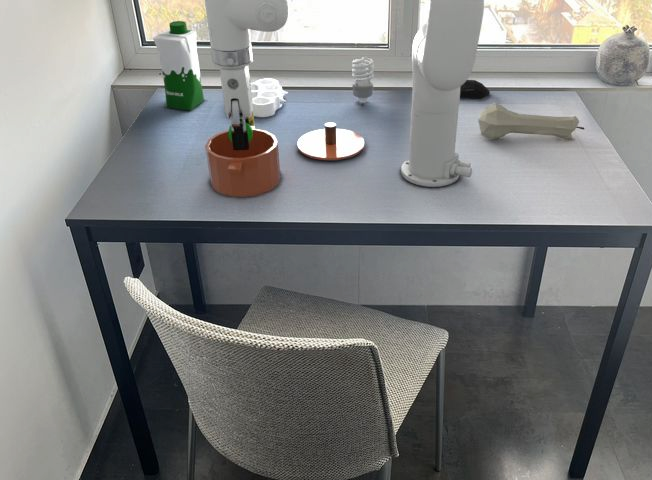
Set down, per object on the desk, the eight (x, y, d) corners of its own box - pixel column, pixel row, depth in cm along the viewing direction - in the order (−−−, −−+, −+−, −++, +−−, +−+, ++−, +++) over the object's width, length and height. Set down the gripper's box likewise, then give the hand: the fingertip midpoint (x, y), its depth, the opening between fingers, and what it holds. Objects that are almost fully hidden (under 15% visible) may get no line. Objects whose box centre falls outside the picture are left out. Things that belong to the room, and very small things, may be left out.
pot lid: (364, 133, 163) (364, 110, 160) (364, 162, 151) (364, 139, 147) (300, 132, 163) (298, 110, 160) (294, 162, 151) (293, 139, 147)
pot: (284, 158, 152) (282, 123, 147) (273, 204, 136) (270, 166, 131) (220, 158, 152) (216, 122, 147) (202, 203, 136) (196, 165, 131)
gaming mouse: (434, 88, 186) (435, 74, 183) (489, 91, 184) (490, 77, 182) (432, 97, 181) (433, 82, 178) (489, 100, 179) (491, 86, 177)
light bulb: (360, 109, 174) (360, 63, 167) (347, 102, 178) (347, 56, 171) (377, 104, 177) (378, 58, 170) (365, 97, 181) (365, 52, 174)
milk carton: (209, 99, 179) (198, 22, 168) (191, 113, 173) (179, 33, 161) (179, 95, 182) (167, 19, 170) (161, 108, 175) (147, 29, 163)
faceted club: (472, 124, 164) (575, 129, 165) (476, 149, 159) (582, 153, 160) (479, 95, 157) (586, 99, 158) (483, 119, 152) (594, 124, 153)
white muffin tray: (235, 90, 185) (290, 90, 185) (226, 117, 170) (285, 117, 170) (234, 78, 183) (289, 78, 183) (225, 105, 168) (284, 104, 168)
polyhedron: (232, 151, 137) (230, 129, 134) (227, 141, 141) (224, 119, 138) (256, 147, 138) (254, 125, 136) (250, 137, 142) (248, 115, 139)
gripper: (250, 70, 122) (259, 161, 133) (253, 39, 136) (261, 125, 146) (208, 71, 121) (220, 163, 132) (215, 41, 135) (225, 126, 146)
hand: (241, 142), depth 139 cm, fingers closed on polyhedron, 5 cm apart
